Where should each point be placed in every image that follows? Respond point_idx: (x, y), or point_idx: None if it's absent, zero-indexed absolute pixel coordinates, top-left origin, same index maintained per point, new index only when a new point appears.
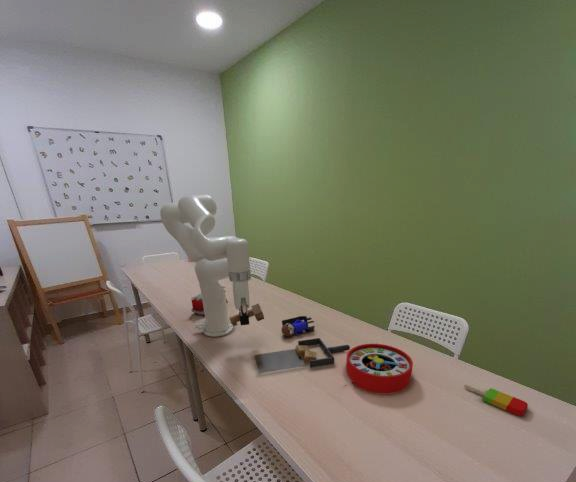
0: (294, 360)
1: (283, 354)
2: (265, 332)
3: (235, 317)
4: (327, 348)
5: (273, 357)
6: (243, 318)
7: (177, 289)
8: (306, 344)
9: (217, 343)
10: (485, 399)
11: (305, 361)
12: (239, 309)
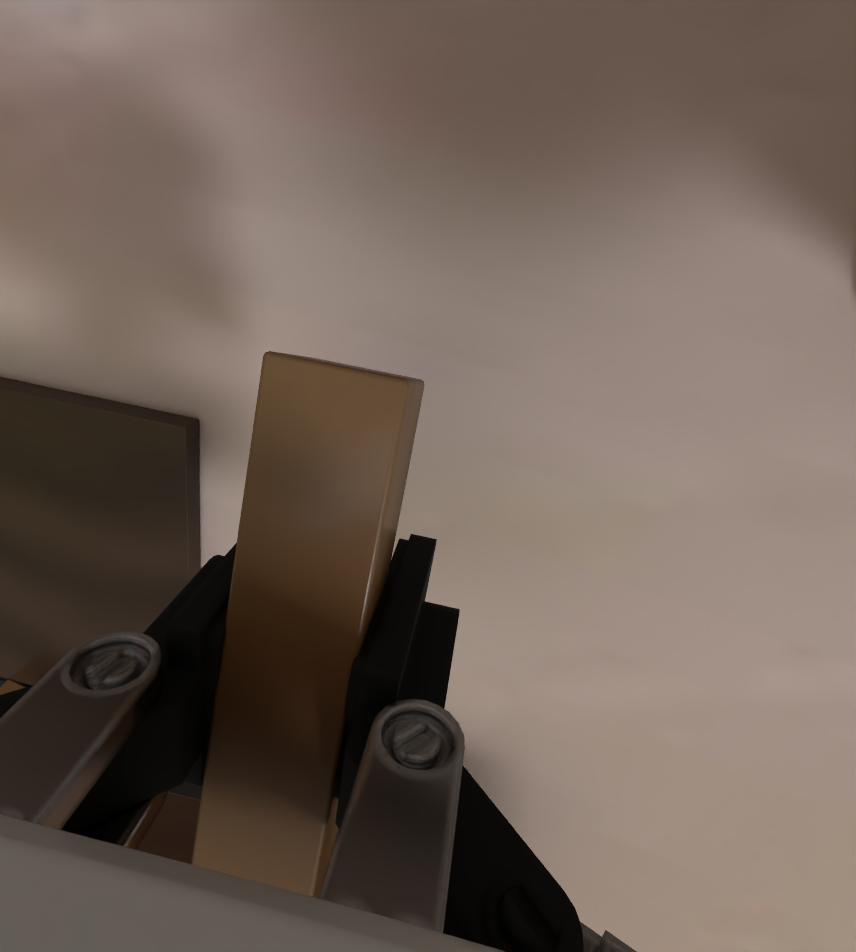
0: (38, 645)
1: (135, 624)
2: (627, 670)
3: (242, 510)
4: None
5: (107, 548)
6: (162, 632)
7: None
8: None
9: (703, 102)
10: None
11: (1, 690)
12: (358, 766)
